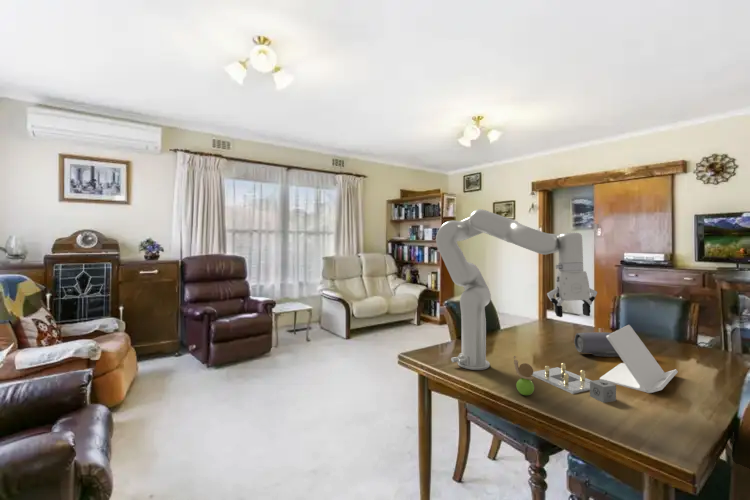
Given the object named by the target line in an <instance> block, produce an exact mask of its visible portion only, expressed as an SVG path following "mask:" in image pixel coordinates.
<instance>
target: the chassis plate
mask: <svg viewBox="0 0 750 500" xmlns="http://www.w3.org/2000/svg"><path fill="white" fill-rule="evenodd" d="M579 373H580V375H579V374H576V373H574V372H571V371H568V370H566V363H565V362H561V363H560V367H558V366H557V367H550V366H549V365H545V366H544V369H540V370H535V371H533V374H532V377H533V378H536V379H538V380H541V381H543V382H545V383H546V384H547V383H548V384H549V385H551V386H553V387H556V388H558V389H561V390H563V391H565V392H567V393H570V394H572V395H574V394H578V393H583V392H587V391H590V381H593V380H591V379H589V378H587V377H586V370H584V369H580V371H579Z"/></svg>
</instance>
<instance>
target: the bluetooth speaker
mask: <svg viewBox="0 0 750 500" xmlns="http://www.w3.org/2000/svg"><path fill="white" fill-rule="evenodd" d="M611 333H612V332H603V331H602V332H599V331H598V332H597V331H596V332H595V331H594V332H577V333H575V336H574V340H573V343H574V346H575V349H576V351H577V352H579V353H583V354H590V355H591V354H592V355H593V356H595V357H611V358H612V357H620V356H619V355H618V353H617V352H616V350H615V349H614V348H613V346H612V345H611V343H610V342H609V340H608V339H607V337H606V336H607V335H609V334H611Z"/></svg>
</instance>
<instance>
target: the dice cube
mask: <svg viewBox="0 0 750 500" xmlns="http://www.w3.org/2000/svg"><path fill="white" fill-rule="evenodd" d="M589 397H591V398H593V399H595V400H597V401H598V402H600V403H603V404H605V403H612V402H616V401H617V385H616V384H613V383H609V382H607V381H605V380H600V379H594V380H592V381H590V390H589Z"/></svg>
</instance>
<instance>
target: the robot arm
mask: <svg viewBox="0 0 750 500" xmlns="http://www.w3.org/2000/svg"><path fill="white" fill-rule="evenodd" d="M483 233H484V234H487V235H489V236H492V237H494V238H496V239H500V240H502V241H504V242H507V243H511V244H513V245H516V246H518V247H519V248H520V247H521V248H523V249H526V250H528V251H532V252H534V253H537V254H539V255H549V254H555V253H558V264H556V265H555V269H557V270H558V271H557V273H556V279H555V288H554V289H552V290H550V291H548V292H547V293H546V295H547V297H548V299H549V301H550V302H551V303H552V304H553V305H554V313H555V316H556V317H558V318H563V306H562V304H563V303H564V301H566V302H568V301H582V302H583V303H582V315H583V316H586V317H590V316H591V305H592V303H594V301H595V300H596V296H597V294H598V291H597V290H595V289H592V288H591V287H590V283H589V281H590V280H589V278H588V274H587V271H586V270H584V253H583V251H584V249H583V246H584V245H583V235H582V234H581V233H579V232H563V233H560V234H559V233H549V232H548V233H547V232H544V231H541V230H538V229H535V228H532V227H529V226H527V225H524V224H522V223H519V222H518V221H517V220H515V219H512V218H509V217H506V216H503V215H501V214H498V213H494V212H492V211H489V210H486V209H481V208H480V209H479V208H478V209H474V211H473V212H471V213H470V215H469V217H467V218H464V219H462V220H448V221H445V222H444V223H443V224H442V225H441V226H440V227H439V229H438V231H437V233H436V237H435V243H436V247H437V250H438V252H439V254H440V257H441V259H442V261H443V262H444V265H445V267H446V270H447V272H448V273H449V276H450V278H451V280H452V282H453V283H454V284H455V285H456V286H458V287H463V289H464V291H463V292H462V293H461V294H460V297H459V307H460V314H461V315H460V317H461V325H460V326H461V352H460V353H459V354H458V356H454V357H451V358H450V360H451V363H457V365H458V366H459V367H461V368H463V369H466V370H470V371H482V370H483V371H484V370H487V369H489V368H490V367H491V363H490V362H489V360H487V357H486V355H487V354H486V353H487V349H486V348H487V344H486V343H487V340H486V339H487V321H486V320H487V319H486V317H487V316H486V310H485V309H486V306H488V305H489V303H491V299H492V294H491V291H490V288H489V287H488V285H487V283H486V281H485V279H484V277H483V274H482V272H481V271H480V269H479V268H478V266H476V264H474V263H473V262H470V261H468V260H467V259H466V257H465V254H464V252H463V250H462V249H461V248H460V246H459V245H458V242H461V241H466V240H469V239H471V238H473V237H476V236H478V235H481V234H483ZM554 295H555V297H556V298H555V297H554Z"/></svg>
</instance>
